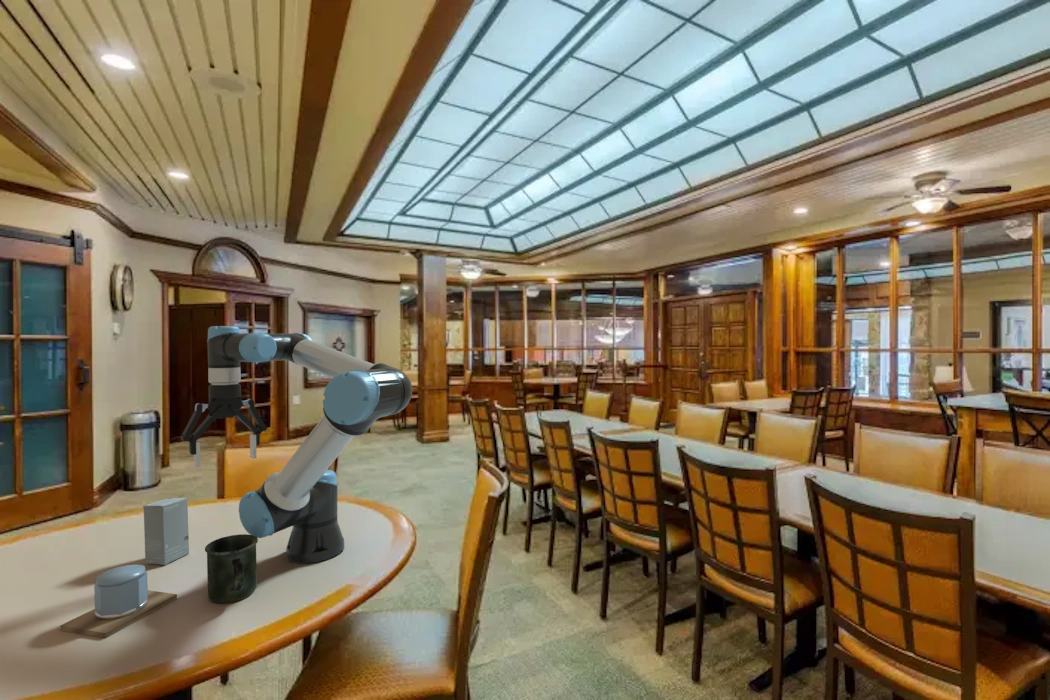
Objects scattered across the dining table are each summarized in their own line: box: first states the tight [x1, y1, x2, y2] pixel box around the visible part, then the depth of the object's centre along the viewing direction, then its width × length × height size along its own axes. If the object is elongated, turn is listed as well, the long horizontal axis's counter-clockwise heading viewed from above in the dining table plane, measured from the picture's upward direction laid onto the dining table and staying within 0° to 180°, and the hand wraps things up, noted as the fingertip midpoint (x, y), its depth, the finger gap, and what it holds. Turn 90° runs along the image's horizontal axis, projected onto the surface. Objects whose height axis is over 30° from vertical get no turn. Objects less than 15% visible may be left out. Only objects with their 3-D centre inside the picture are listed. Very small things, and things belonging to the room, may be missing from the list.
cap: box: [93, 564, 149, 616], centre depth 112 cm, size 8×8×7 cm
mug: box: [204, 533, 259, 604], centre depth 119 cm, size 11×15×12 cm
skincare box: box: [142, 497, 190, 566], centre depth 140 cm, size 8×7×16 cm
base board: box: [59, 589, 178, 639], centre depth 112 cm, size 12×16×1 cm
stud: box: [95, 600, 147, 620], centre depth 112 cm, size 9×9×6 cm
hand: (226, 462), depth 138 cm, fingers open, 13 cm apart
